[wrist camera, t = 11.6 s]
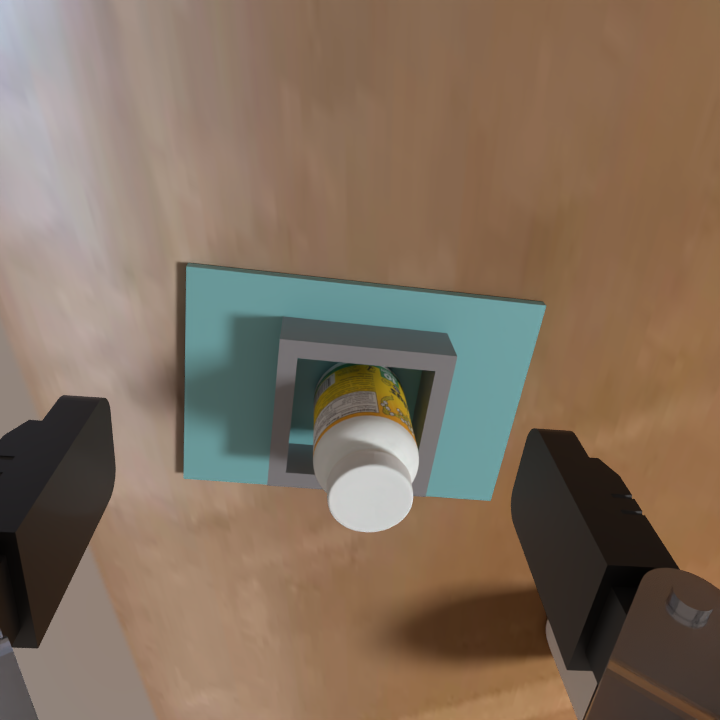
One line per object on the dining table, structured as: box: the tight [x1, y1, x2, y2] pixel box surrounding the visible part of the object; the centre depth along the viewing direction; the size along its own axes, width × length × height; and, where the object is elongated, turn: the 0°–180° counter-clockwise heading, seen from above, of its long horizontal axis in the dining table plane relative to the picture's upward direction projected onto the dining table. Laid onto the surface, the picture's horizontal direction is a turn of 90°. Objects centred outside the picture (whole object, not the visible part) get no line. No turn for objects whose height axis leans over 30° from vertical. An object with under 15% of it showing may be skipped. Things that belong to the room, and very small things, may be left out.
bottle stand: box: [184, 263, 546, 501], centre depth 36 cm, size 20×14×4 cm
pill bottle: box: [546, 620, 597, 720], centre depth 42 cm, size 8×8×15 cm
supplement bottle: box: [313, 362, 419, 532], centre depth 33 cm, size 5×5×10 cm
